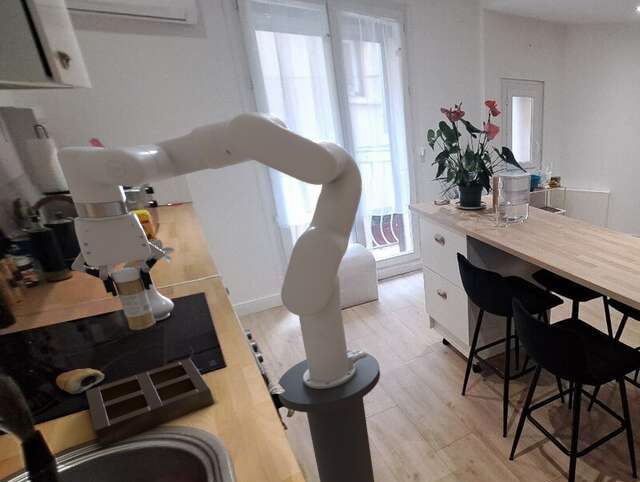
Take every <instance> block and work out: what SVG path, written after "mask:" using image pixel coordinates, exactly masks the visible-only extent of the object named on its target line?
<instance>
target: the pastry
mask: <svg viewBox="0 0 640 482" xmlns="http://www.w3.org/2000/svg"><path fill="white" fill-rule="evenodd" d="M104 379H105V374H104V373H102V372H101V371H100V370H98V369H94V368H93V369H92V368H91V367H89V368H88V367H87V368H78V369H73V370H70V371H67V372H62V373H61V374H59V375H58V376H57V377H56V379H55V382H56V385H57V386H58V388H59V389H60V390H62V391H65V392H66V393H69V394H71V395H75V394H81V393H83V392H86V391H87V390H90V389H92V387H94V386H96V385H98V384H100V383H102V382H103V381H104Z"/></svg>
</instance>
